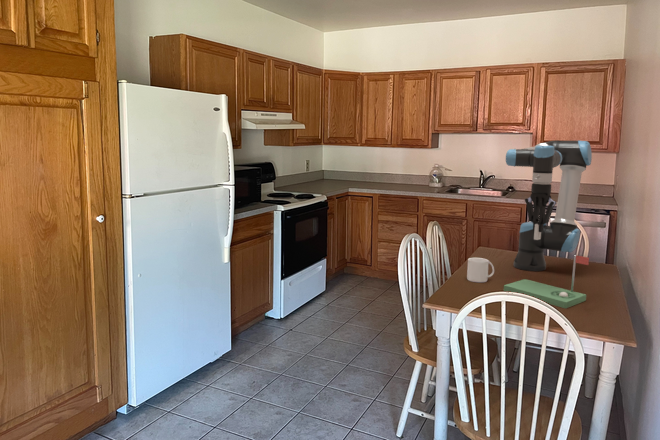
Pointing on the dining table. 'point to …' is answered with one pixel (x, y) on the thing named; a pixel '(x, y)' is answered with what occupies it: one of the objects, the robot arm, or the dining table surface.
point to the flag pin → (576, 260)
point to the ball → (563, 294)
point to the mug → (478, 269)
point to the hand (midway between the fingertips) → (537, 239)
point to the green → (546, 293)
